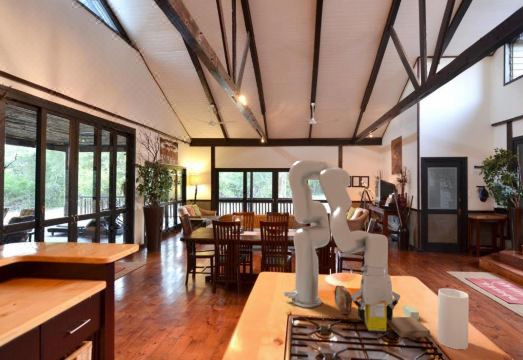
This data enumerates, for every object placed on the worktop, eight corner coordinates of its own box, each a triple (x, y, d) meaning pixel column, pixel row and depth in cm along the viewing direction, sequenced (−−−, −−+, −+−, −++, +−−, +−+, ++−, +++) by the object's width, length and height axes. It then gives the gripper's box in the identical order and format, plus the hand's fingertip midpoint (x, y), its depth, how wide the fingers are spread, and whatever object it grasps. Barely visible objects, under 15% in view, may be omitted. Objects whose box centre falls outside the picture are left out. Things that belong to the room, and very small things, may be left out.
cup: (434, 334, 102) (435, 287, 102) (462, 338, 100) (463, 289, 100) (441, 347, 94) (442, 295, 94) (472, 351, 92) (472, 299, 92)
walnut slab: (400, 337, 100) (400, 331, 100) (386, 322, 110) (386, 317, 110) (429, 336, 101) (429, 330, 101) (412, 322, 111) (412, 316, 111)
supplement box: (381, 325, 108) (381, 294, 108) (386, 333, 102) (387, 301, 102) (364, 324, 109) (364, 293, 109) (368, 332, 103) (368, 300, 103)
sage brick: (418, 320, 113) (418, 312, 113) (410, 320, 113) (410, 312, 113) (410, 313, 119) (410, 305, 119) (402, 313, 119) (402, 305, 119)
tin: (333, 302, 129) (334, 282, 129) (341, 302, 129) (341, 282, 129) (344, 318, 114) (345, 295, 114) (353, 318, 114) (353, 295, 114)
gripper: (355, 273, 101) (355, 324, 101) (405, 273, 103) (405, 323, 103) (347, 267, 109) (347, 314, 109) (394, 266, 110) (393, 313, 110)
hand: (375, 319), depth 106 cm, fingers open, 9 cm apart
